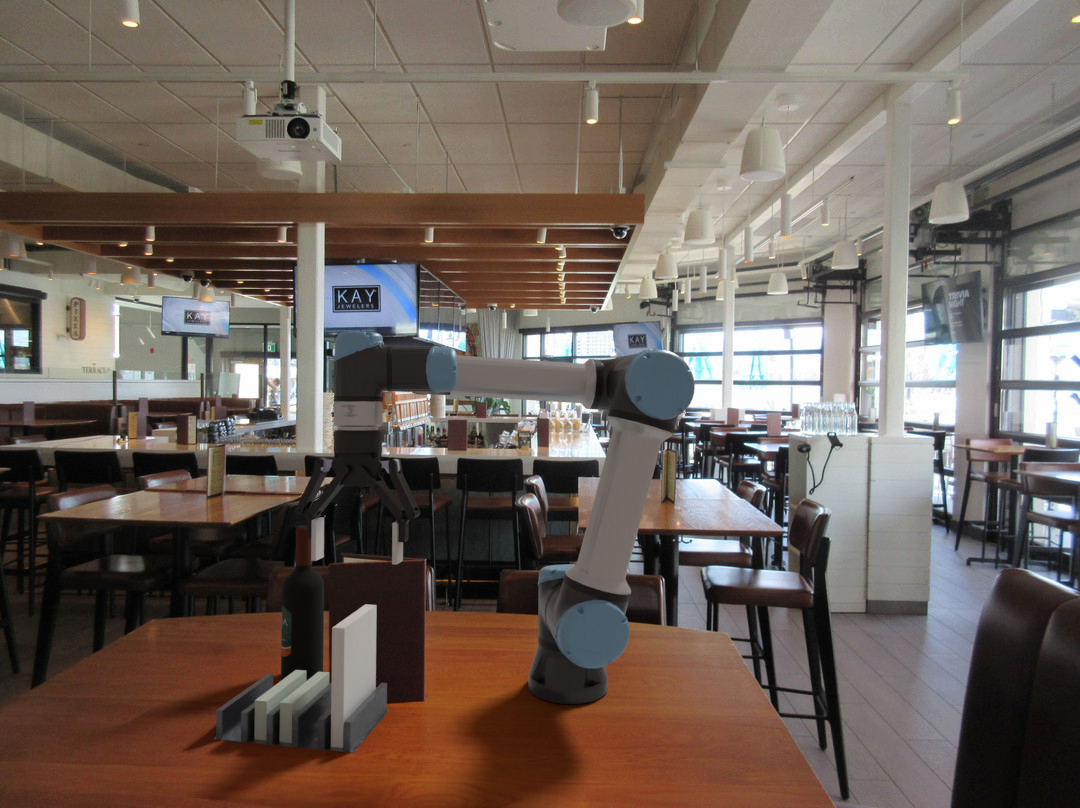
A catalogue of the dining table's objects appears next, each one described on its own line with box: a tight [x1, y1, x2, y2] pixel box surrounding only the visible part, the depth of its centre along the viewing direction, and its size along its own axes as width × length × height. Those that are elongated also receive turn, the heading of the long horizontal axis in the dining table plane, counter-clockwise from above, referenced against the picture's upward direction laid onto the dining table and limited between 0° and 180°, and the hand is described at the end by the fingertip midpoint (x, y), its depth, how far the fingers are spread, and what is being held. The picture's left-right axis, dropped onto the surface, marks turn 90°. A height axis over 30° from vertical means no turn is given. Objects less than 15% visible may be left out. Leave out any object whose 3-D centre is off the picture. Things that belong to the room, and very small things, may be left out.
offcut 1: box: [254, 670, 307, 740], centre depth 107 cm, size 2×12×6 cm, turn 171°
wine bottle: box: [280, 525, 325, 681], centre depth 125 cm, size 8×8×30 cm
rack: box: [213, 673, 390, 754], centre depth 106 cm, size 23×14×6 cm, turn 81°
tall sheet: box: [331, 603, 377, 748], centre depth 105 cm, size 2×12×18 cm, turn 171°
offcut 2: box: [280, 671, 330, 743], centre depth 106 cm, size 2×12×6 cm, turn 171°
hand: (357, 561), depth 105 cm, fingers open, 13 cm apart
